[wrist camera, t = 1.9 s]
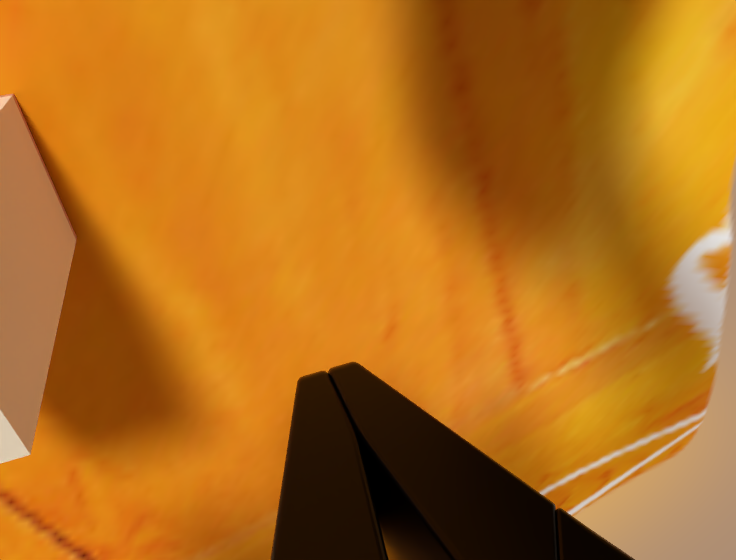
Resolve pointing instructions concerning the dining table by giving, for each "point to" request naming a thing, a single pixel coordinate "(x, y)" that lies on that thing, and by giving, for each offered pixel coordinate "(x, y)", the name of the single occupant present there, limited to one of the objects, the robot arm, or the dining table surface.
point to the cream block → (27, 278)
